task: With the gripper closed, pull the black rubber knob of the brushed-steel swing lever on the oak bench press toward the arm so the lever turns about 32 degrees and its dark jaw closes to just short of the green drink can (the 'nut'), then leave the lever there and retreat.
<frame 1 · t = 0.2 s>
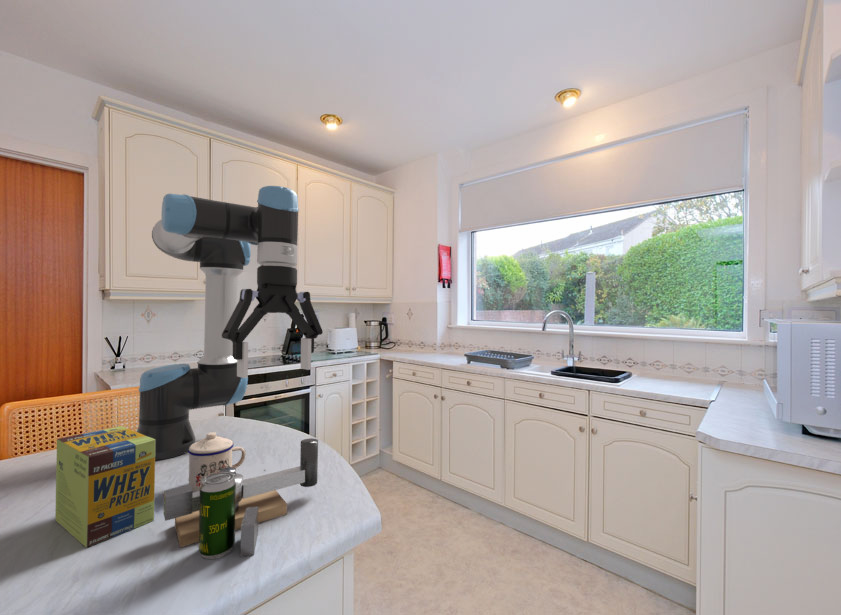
hand: (276, 372, 78), 28 cm above the countertop, fingers open, 13 cm apart
green drink can: (217, 551, 65), on the countertop
pivot and anvil: (226, 521, 74), on the countertop
teacup with lid: (217, 483, 89), on the countertop
protein box: (105, 521, 73), on the countertop
press bench: (226, 521, 74), on the countertop
lever: (249, 476, 76), point 8 cm above the countertop, hinge at 0.0°
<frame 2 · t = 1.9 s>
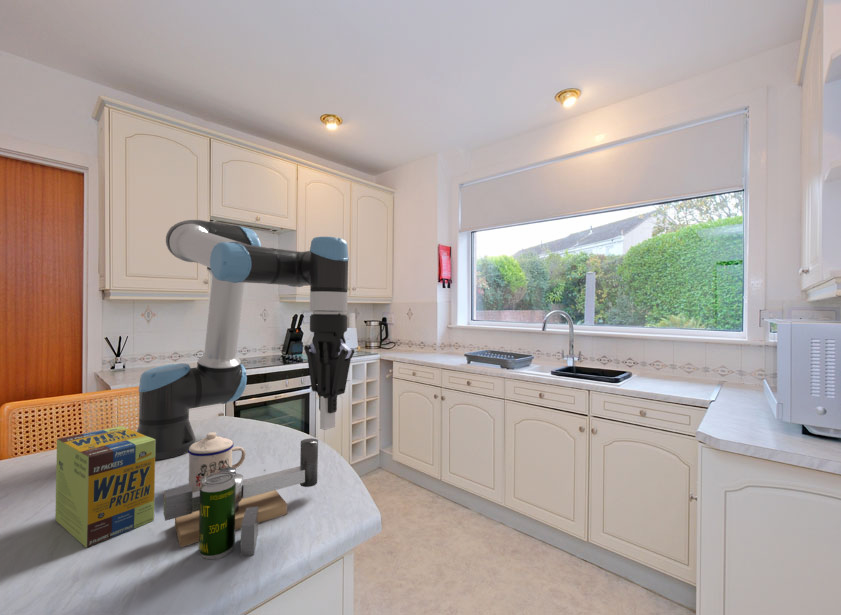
hand: (327, 427, 80), 16 cm above the countertop, fingers closed
nothing on the countertop moved.
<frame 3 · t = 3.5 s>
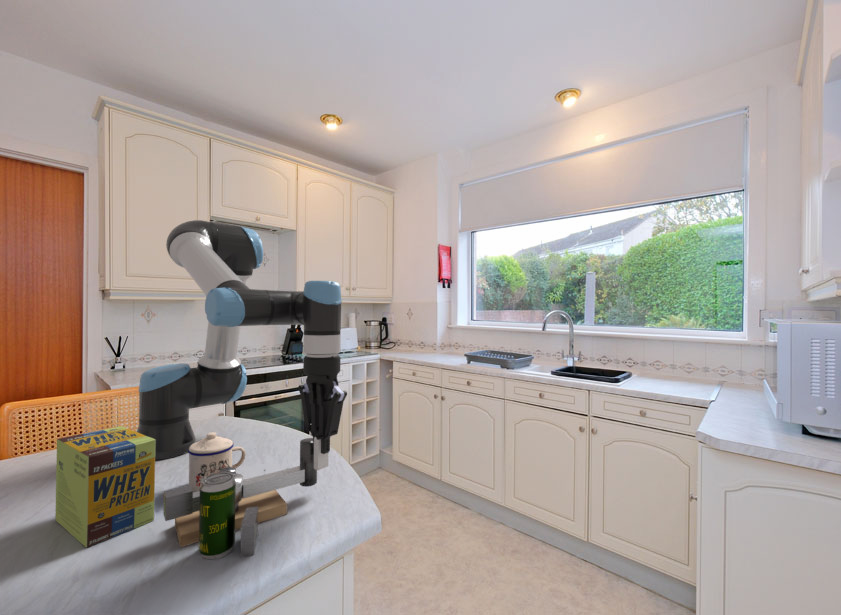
hand: (321, 467, 81), 7 cm above the countertop, fingers closed
lever: (249, 476, 76), point 8 cm above the countertop, hinge at 1.0°, touching gripper
everything else where it was.
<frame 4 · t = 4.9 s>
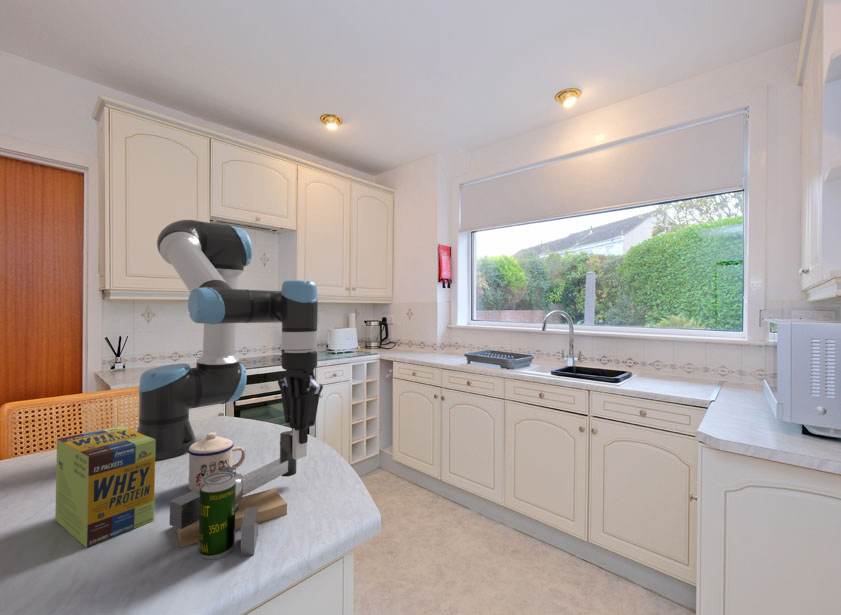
hand: (299, 456, 86), 8 cm above the countertop, fingers closed
lever: (244, 473, 77), point 7 cm above the countertop, hinge at 28.0°, touching gripper
everything else where it was.
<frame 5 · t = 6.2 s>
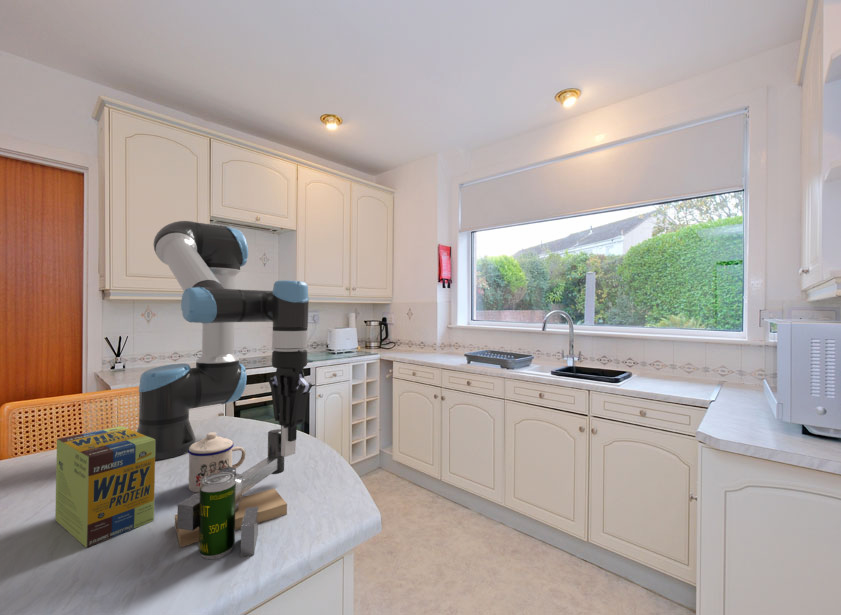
hand: (288, 454, 87), 8 cm above the countertop, fingers closed
lever: (241, 473, 77), point 7 cm above the countertop, hinge at 39.9°, touching gripper
everything else where it was.
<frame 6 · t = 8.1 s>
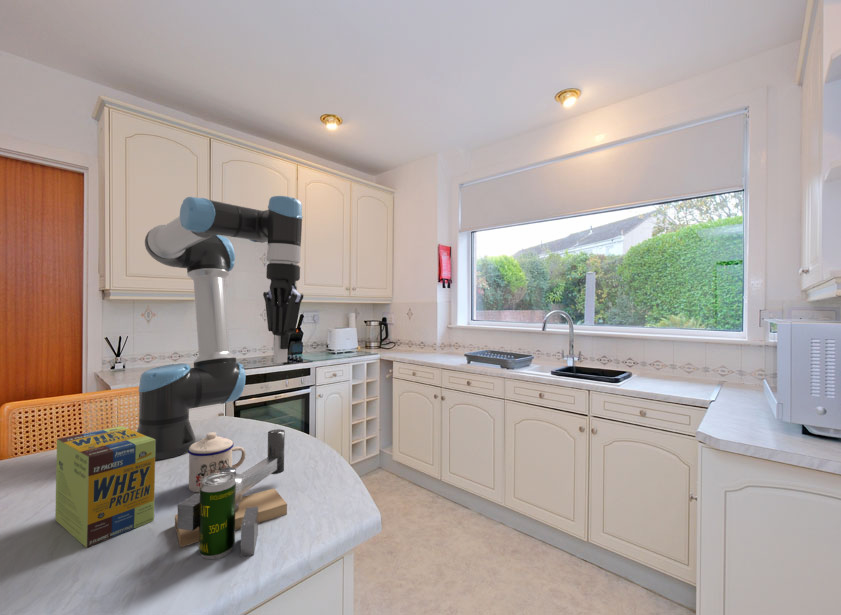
hand: (280, 362, 93), 27 cm above the countertop, fingers closed
lever: (241, 473, 77), point 7 cm above the countertop, hinge at 40.0°
everything else where it was.
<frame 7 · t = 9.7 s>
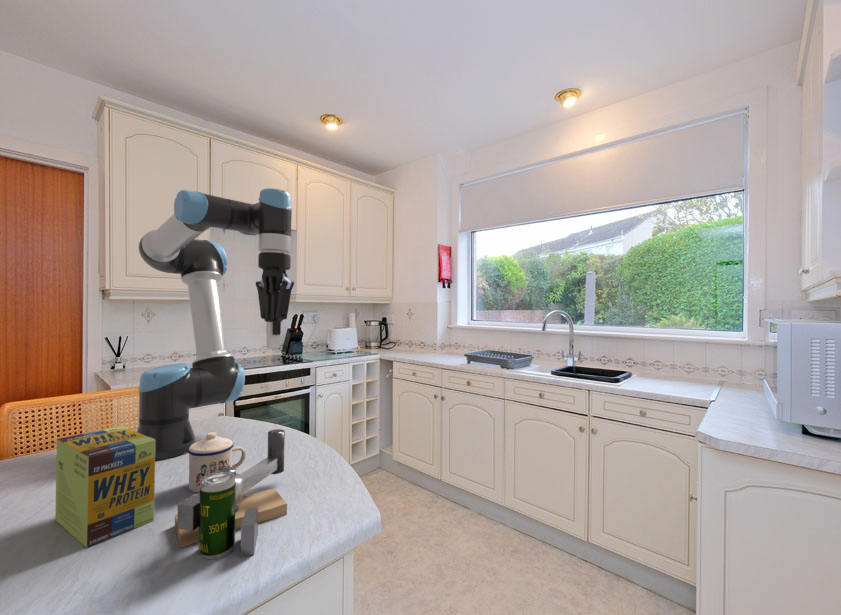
hand: (273, 347, 97), 30 cm above the countertop, fingers closed
nothing on the countertop moved.
at the end: lever at +40° (first picture: +0°); green drink can tilted 0°; green drink can moved 0.2 cm from its start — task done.
